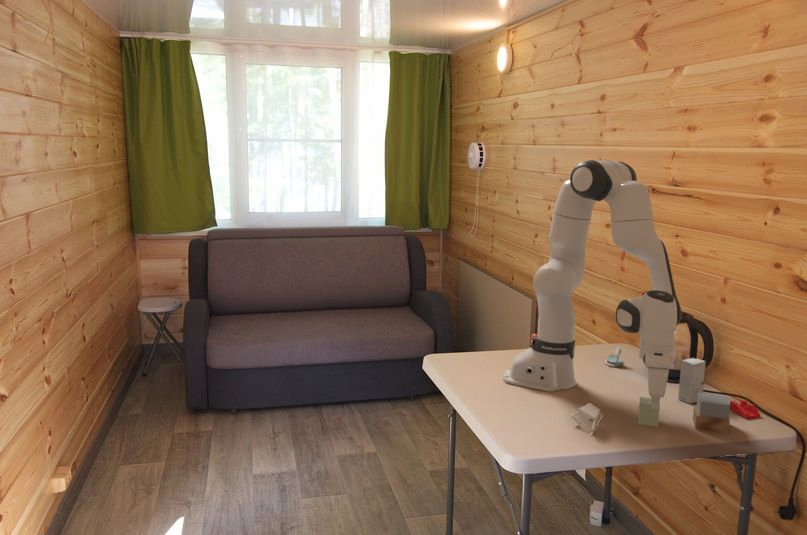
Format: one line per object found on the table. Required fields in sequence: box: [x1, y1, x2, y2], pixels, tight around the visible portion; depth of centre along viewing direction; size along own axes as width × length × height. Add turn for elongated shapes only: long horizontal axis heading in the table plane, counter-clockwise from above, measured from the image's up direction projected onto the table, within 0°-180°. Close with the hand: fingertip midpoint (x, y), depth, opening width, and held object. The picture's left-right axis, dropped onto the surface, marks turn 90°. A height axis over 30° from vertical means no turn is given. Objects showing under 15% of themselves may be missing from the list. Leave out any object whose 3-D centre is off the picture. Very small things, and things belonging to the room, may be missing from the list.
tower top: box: [696, 392, 731, 420], centre depth 182 cm, size 7×7×4 cm
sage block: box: [637, 396, 661, 428], centre depth 183 cm, size 5×5×6 cm
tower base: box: [692, 405, 731, 434], centre depth 182 cm, size 8×8×4 cm
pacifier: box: [604, 346, 625, 367], centre depth 231 cm, size 7×6×6 cm
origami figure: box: [569, 402, 604, 436], centre depth 179 cm, size 12×8×5 cm
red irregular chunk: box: [729, 399, 761, 420], centre depth 191 cm, size 6×5×3 cm
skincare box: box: [677, 357, 707, 404], centre depth 200 cm, size 6×4×12 cm
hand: (653, 401), depth 183 cm, fingers open, 8 cm apart
